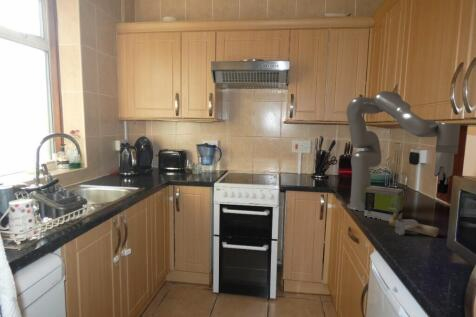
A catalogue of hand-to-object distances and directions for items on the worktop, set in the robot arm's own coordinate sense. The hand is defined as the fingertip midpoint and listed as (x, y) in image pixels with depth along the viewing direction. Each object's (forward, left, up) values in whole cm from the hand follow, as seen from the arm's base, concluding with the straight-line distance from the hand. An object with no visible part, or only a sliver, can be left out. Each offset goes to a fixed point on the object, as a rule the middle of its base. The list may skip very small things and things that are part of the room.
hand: (442, 192), depth 123 cm
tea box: (-19, -14, -17) cm, 29 cm away
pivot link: (-2, -11, -17) cm, 20 cm away
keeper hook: (+2, -16, -17) cm, 24 cm away
